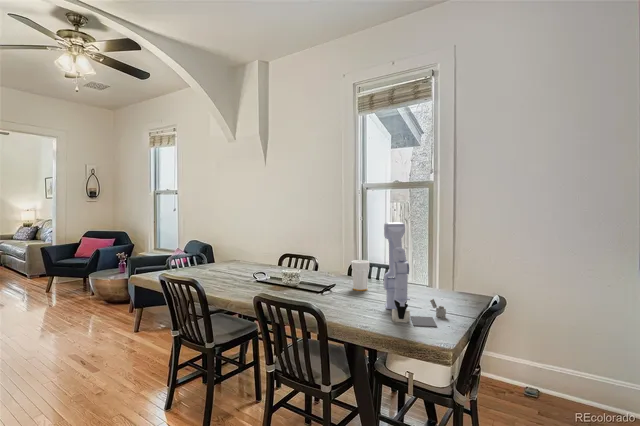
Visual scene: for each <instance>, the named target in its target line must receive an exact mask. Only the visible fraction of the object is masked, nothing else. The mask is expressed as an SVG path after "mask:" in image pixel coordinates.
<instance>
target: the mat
mask: <svg viewBox="0 0 640 426" xmlns="http://www.w3.org/2000/svg"><path fill="white" fill-rule="evenodd" d="M410 321H411V323H412V325H413V327H420V328H421V327H426V328H438V325H437V324H436V321H435V319H434V318H433V316H420V315H419V316H418V315H417V316H416V315H415V316H414V315H410Z"/></svg>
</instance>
